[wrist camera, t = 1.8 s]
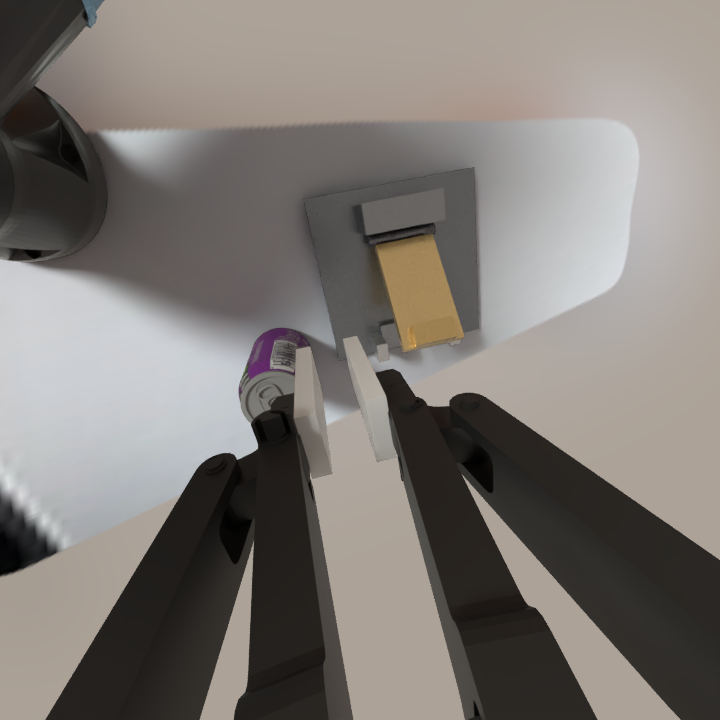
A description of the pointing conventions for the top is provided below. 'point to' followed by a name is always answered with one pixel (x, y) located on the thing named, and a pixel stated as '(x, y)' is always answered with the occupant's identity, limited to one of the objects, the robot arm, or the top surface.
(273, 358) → the beverage can
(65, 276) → the top surface
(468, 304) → the clamp base
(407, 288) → the tan flat panel
